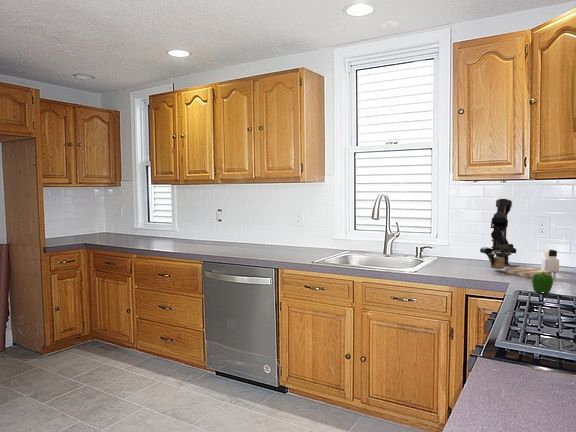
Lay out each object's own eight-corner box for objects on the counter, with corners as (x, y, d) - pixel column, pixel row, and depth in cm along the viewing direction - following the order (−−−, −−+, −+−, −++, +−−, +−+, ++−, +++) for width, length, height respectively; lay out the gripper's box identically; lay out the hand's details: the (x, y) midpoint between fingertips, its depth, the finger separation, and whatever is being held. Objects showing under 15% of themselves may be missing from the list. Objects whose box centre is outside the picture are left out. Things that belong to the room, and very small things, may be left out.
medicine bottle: (554, 269, 249) (555, 249, 248) (558, 272, 242) (560, 251, 241) (540, 269, 251) (541, 248, 250) (544, 271, 244) (545, 250, 243)
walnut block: (490, 267, 247) (491, 257, 247) (496, 266, 249) (497, 256, 249) (498, 269, 243) (498, 258, 242) (504, 268, 245) (504, 258, 244)
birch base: (505, 272, 241) (505, 268, 241) (524, 269, 248) (524, 266, 248) (532, 278, 227) (532, 274, 227) (551, 275, 234) (551, 271, 234)
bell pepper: (534, 289, 204) (535, 268, 203) (554, 292, 198) (555, 270, 197) (528, 292, 198) (529, 270, 197) (549, 295, 192) (550, 273, 191)
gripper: (491, 240, 235) (490, 268, 237) (523, 239, 237) (522, 267, 239) (480, 237, 246) (479, 264, 248) (510, 237, 248) (509, 264, 250)
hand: (497, 265), depth 246 cm, fingers closed on walnut block, 6 cm apart
